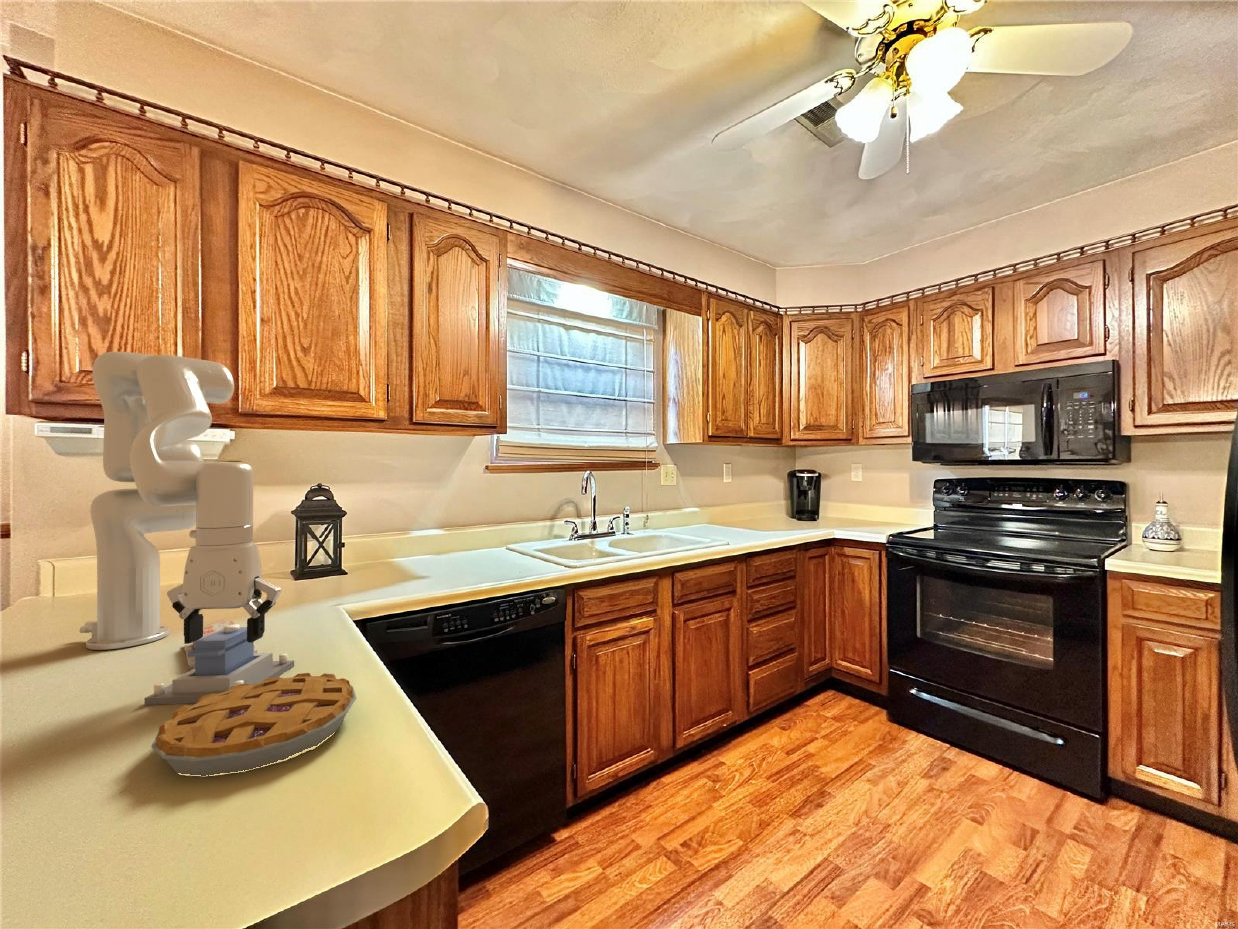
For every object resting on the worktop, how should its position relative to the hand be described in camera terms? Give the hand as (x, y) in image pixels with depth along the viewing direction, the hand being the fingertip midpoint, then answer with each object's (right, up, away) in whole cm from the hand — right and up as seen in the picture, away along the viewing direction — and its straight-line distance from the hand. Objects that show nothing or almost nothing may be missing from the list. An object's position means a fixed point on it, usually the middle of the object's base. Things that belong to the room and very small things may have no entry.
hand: (224, 640), depth 84 cm
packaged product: (-13, -8, +15) cm, 21 cm away
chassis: (0, -7, 0) cm, 7 cm away
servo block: (0, -6, 0) cm, 6 cm away
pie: (+18, -7, -17) cm, 26 cm away
